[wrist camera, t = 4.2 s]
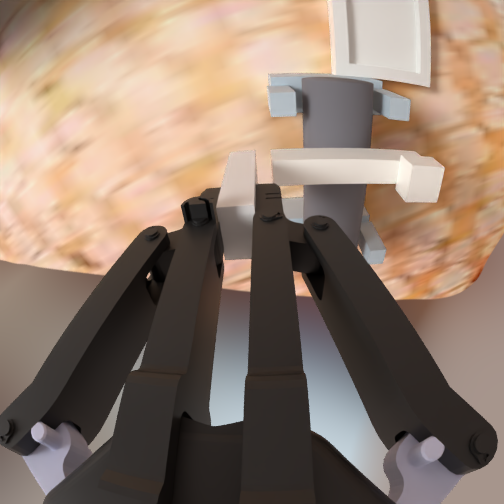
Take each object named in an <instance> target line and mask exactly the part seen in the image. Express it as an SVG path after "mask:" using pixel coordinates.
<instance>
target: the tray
mask: <svg viewBox="0 0 504 504" xmlns="http://www.w3.org/2000/svg"><path fill="white" fill-rule="evenodd" d="M327 4H328V15H329V28H330V45H331V69H332V74H334V75H340V76H355V77H366V78H375V79H383V80H391V81H398V82H404V83H410V84H416V85H421V86H426V87H430V76H431V32H430V14H429V2H428V0H327Z"/></svg>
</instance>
